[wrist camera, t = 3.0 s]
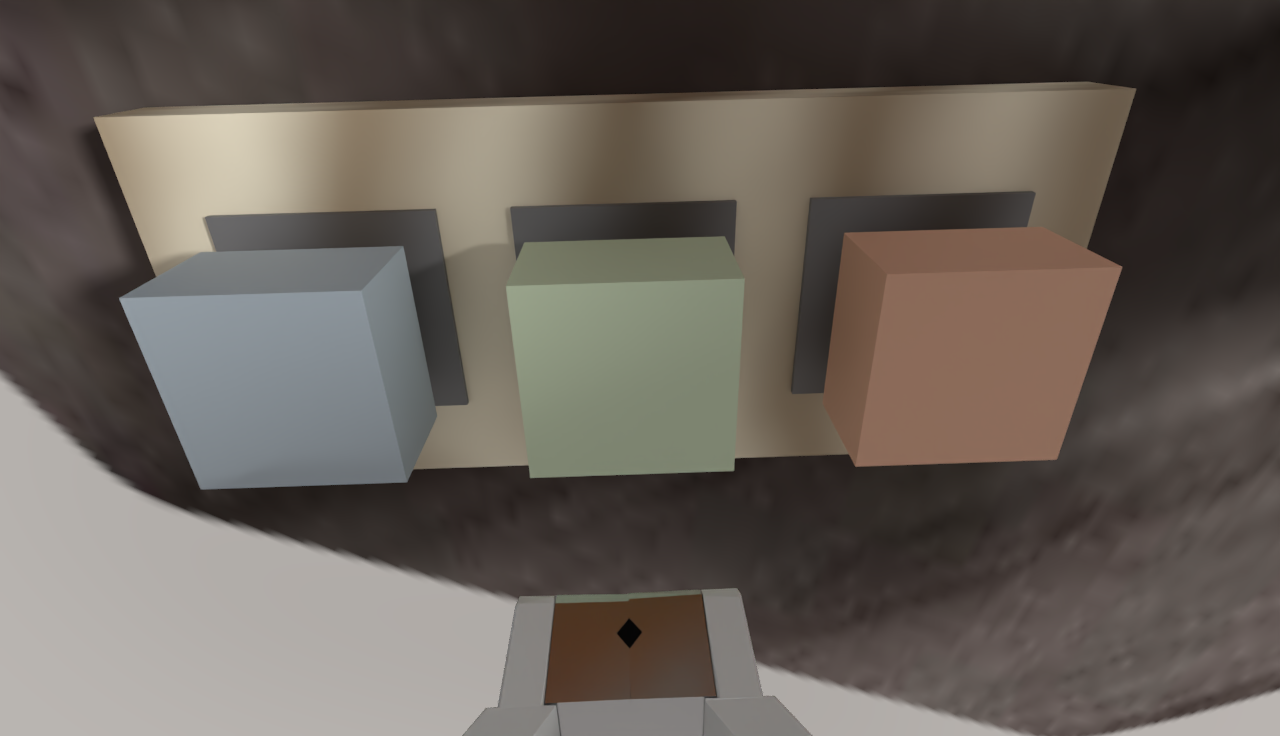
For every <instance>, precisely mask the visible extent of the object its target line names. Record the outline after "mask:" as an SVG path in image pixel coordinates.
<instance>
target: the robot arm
mask: <svg viewBox="0 0 1280 736" xmlns="http://www.w3.org/2000/svg"><path fill="white" fill-rule="evenodd" d="M463 736H812V735H811V734H810V733H809V732H808V731H807V729H806V728H805V727H804V726H803V725H802V724H801V723H800V722H799V721H798V720H797V719H796V718H795V717H794V716H793V715H792V714H791V713H790V712H789V710H788V709H787V708H786V707H785V706H784V705H783V704H782V703H781V702H780V701H779V700H778V699H777V698H776V697H775V696H763V694H762V689H761V685H760V680H759V675H758V671H757V666H756V661H755V657H754V652H753V647H752V643H751V638H750V634H749V629H748V624H747V620H746V615H745V611H744V606H743V601H742V597H741V593H740V592H739V591H738V589H737V588H729V589H707V590H701V591H700V590H681V591H662V592H642V593H629V594H601V595H557V596H520V597H519V599H518V602H517V604H516V606H515V612H514V617H513V622H512V628H511V634H510V639H509V645H508V651H507V657H506V663H505V668H504V674H503V679H502V686H501V691H500V696H499V703H498V707H494V708H486V709H485V710H484V711H483V712H482V713H481V714H480V716H479V717H478V718H477V719H476V720H475V721H474V723H473V724H472V725H471V726H470V727H469V728H468V730H467V731H466V732H465V733H464V734H463Z"/></svg>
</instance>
